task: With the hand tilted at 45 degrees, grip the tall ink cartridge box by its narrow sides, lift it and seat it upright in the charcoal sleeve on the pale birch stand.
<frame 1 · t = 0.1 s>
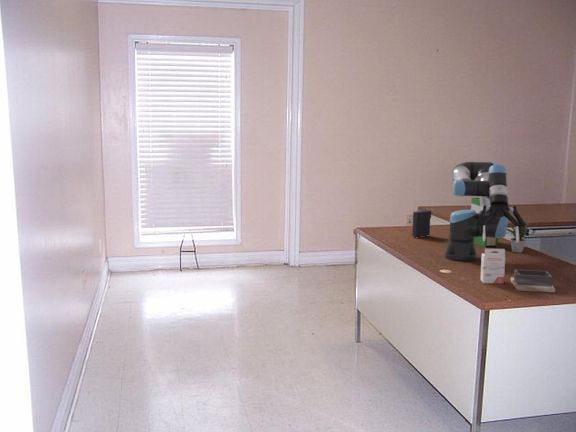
hand: (500, 241, 233), 15 cm above the table, tool tilted 35°, fingers open, 13 cm apart
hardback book: (483, 243, 297), on the table
house plant: (517, 251, 279), on the table
dark navy upright block: (420, 237, 314), on the table
sleeve stand: (531, 286, 220), on the table
ink cartridge box: (491, 282, 226), on the table
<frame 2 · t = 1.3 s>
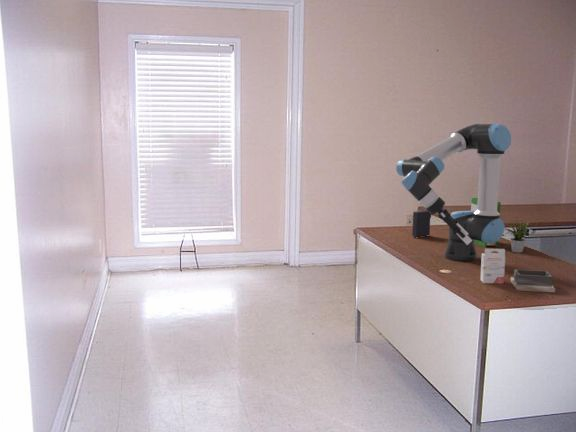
hand: (467, 239, 225), 18 cm above the table, tool tilted 45°, fingers open, 13 cm apart
nothing on the table moved.
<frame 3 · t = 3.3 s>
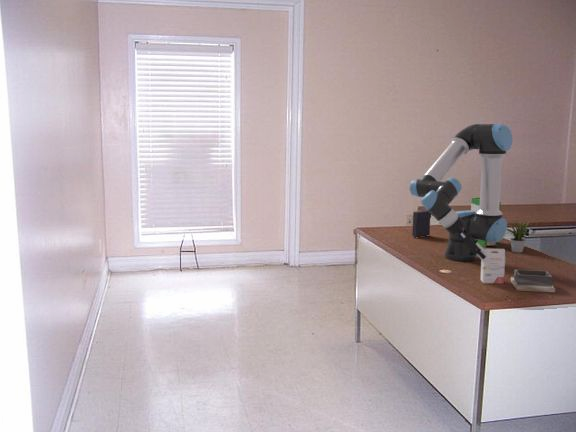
hand: (487, 259, 223), 10 cm above the table, tool tilted 45°, fingers open, 13 cm apart
nothing on the table moved.
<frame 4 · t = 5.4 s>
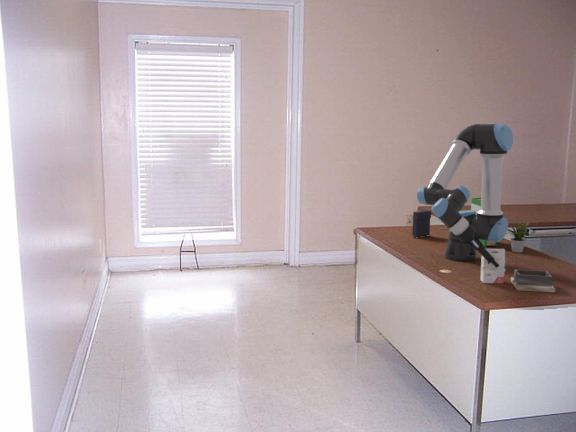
hand: (502, 269, 224), 5 cm above the table, tool tilted 45°, fingers closed on ink cartridge box, 5 cm apart
ink cartridge box: (491, 282, 226), on the table, touching gripper
everything else where it was.
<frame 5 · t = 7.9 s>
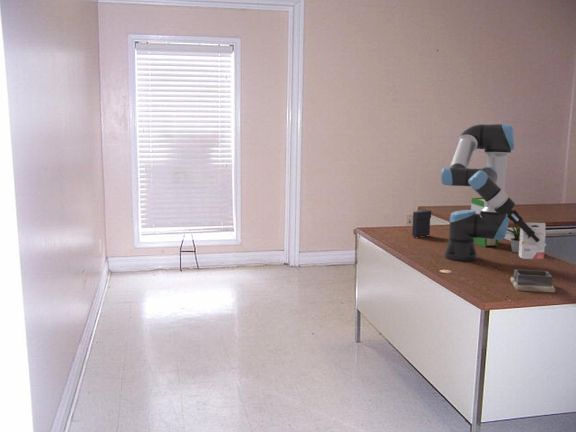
hand: (542, 245, 216), 17 cm above the table, tool tilted 45°, fingers closed on ink cartridge box, 5 cm apart
ink cartridge box: (530, 258, 217), point 12 cm above the table, touching gripper
everything else where it was.
when the fingers open (9 cm above the table, at t = 10.7 s): ink cartridge box drops 2 cm, resting on sleeve stand.
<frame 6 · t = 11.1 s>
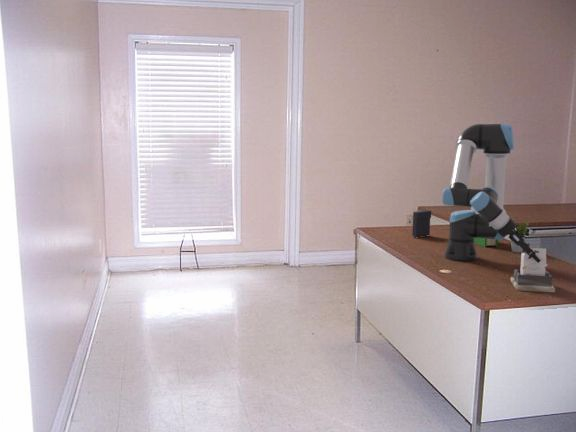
hand: (541, 263, 217), 10 cm above the table, tool tilted 45°, fingers open, 10 cm apart
ink cartridge box: (531, 282, 220), point 1 cm above the table, touching sleeve stand
everything else where it was.
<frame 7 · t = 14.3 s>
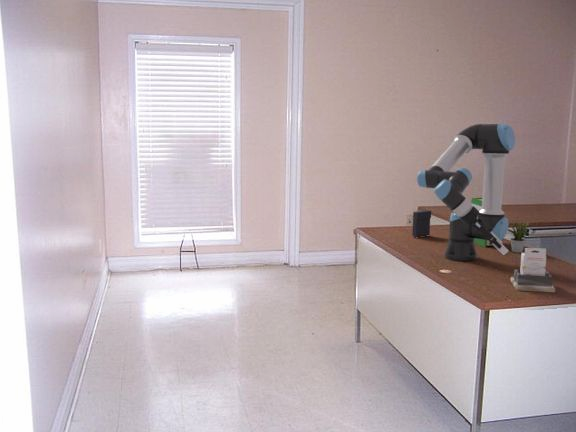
hand: (503, 248, 219), 15 cm above the table, tool tilted 45°, fingers open, 13 cm apart
nothing on the table moved.
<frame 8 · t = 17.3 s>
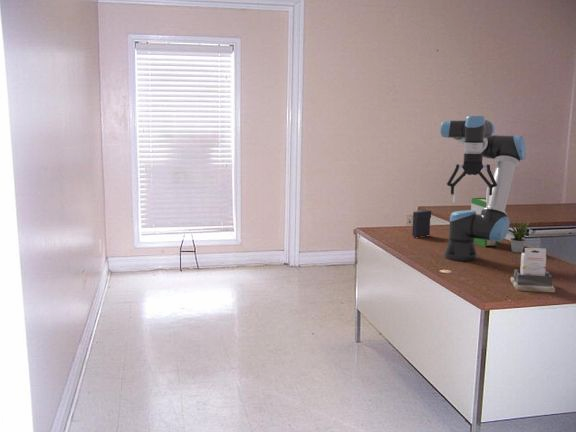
hand: (470, 202, 232), 32 cm above the table, tool pointing down, fingers open, 13 cm apart
nothing on the table moved.
at the end: ink cartridge box 0.4 cm off-centre on the sleeve stand, point 1.3 cm above the sleeve stand's base; ink cartridge box tilted 0°; the gripper is holding nothing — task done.
